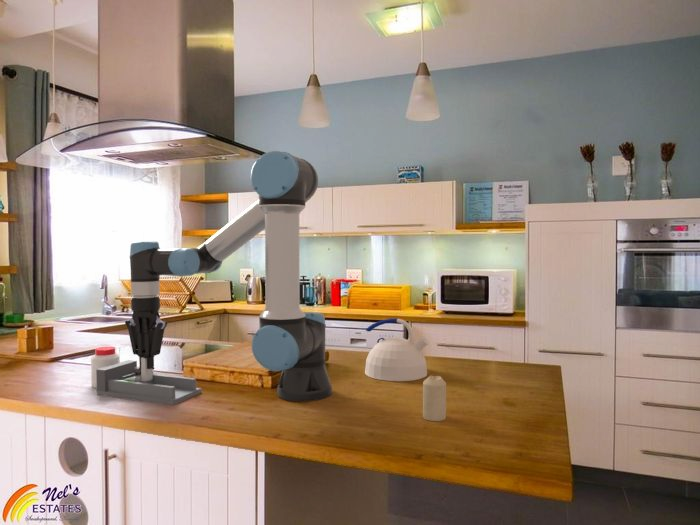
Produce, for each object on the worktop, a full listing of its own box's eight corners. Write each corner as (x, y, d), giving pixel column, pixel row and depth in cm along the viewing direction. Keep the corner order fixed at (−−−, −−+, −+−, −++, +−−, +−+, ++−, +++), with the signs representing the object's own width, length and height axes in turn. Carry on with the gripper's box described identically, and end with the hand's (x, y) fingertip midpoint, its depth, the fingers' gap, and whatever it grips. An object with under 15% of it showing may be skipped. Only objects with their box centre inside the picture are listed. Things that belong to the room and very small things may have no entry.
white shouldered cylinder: (430, 422, 120) (431, 380, 120) (418, 415, 125) (418, 375, 125) (450, 419, 123) (450, 378, 122) (437, 412, 128) (437, 372, 127)
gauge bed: (201, 392, 145) (201, 367, 145) (172, 405, 134) (172, 377, 134) (129, 383, 154) (128, 360, 154) (96, 394, 143) (96, 369, 143)
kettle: (421, 384, 154) (422, 324, 153) (356, 378, 160) (356, 321, 160) (433, 368, 173) (433, 315, 172) (374, 364, 180) (374, 312, 179)
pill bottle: (108, 389, 149) (108, 351, 149) (85, 387, 151) (84, 350, 150) (125, 382, 157) (125, 346, 156) (103, 380, 158) (102, 345, 158)
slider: (159, 383, 150) (158, 363, 150) (129, 394, 139) (128, 373, 139) (148, 382, 152) (147, 362, 151) (117, 392, 141) (117, 371, 141)
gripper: (173, 295, 145) (174, 378, 146) (137, 294, 149) (138, 374, 150) (154, 298, 138) (156, 385, 139) (117, 296, 142) (118, 381, 143)
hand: (146, 379), depth 144 cm, fingers closed
